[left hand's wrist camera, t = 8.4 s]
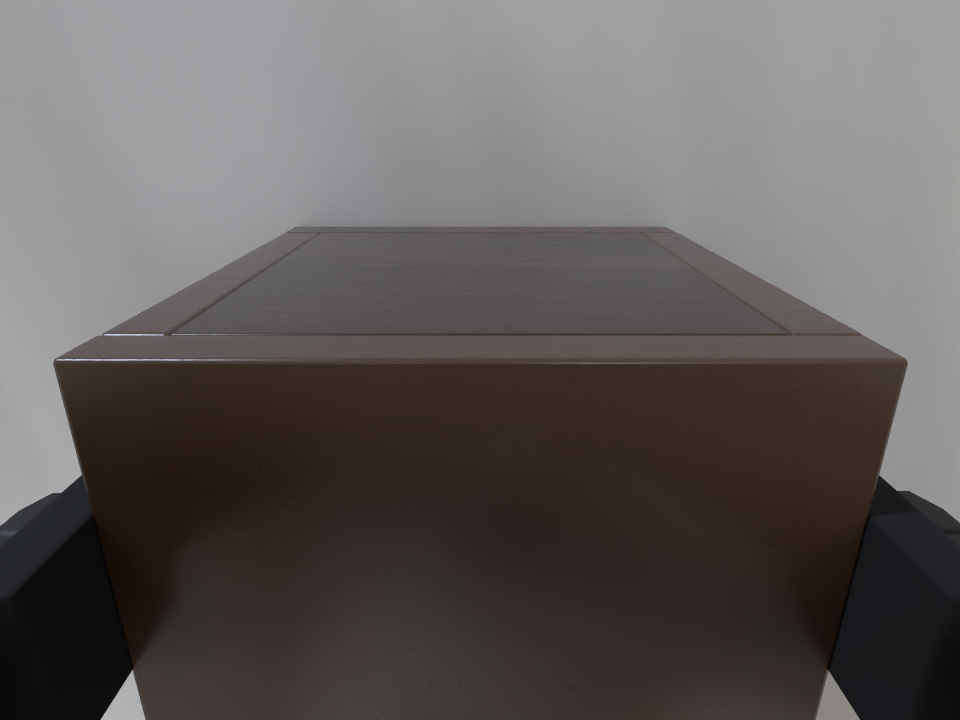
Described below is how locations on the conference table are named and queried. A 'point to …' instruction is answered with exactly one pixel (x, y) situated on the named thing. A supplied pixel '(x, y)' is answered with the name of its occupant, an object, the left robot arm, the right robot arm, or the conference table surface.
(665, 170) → the conference table surface
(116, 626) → the left robot arm
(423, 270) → the cabinet
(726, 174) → the conference table surface
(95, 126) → the conference table surface
